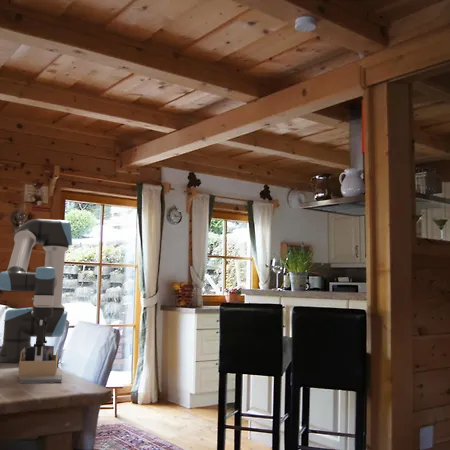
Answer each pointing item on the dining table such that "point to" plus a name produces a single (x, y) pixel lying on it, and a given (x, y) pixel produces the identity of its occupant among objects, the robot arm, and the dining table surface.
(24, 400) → the dining table surface
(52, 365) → the carton
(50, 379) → the board
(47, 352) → the small box
